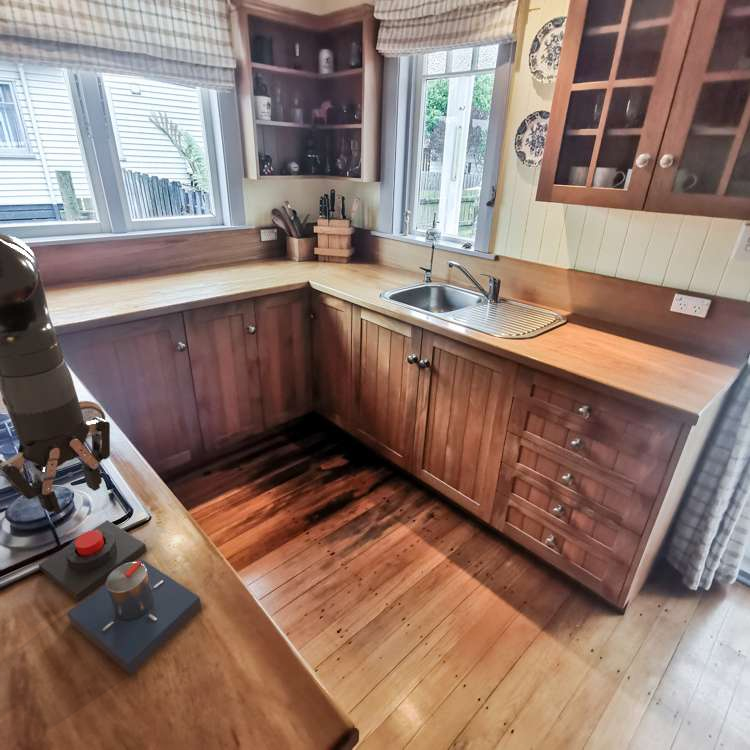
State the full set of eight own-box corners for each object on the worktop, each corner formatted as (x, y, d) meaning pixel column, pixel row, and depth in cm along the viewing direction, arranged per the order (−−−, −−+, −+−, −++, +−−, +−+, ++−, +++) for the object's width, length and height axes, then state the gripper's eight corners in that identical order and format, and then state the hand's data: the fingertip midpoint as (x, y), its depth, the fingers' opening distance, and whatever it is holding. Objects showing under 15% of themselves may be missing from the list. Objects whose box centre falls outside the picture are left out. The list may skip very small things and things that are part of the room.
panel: (72, 627, 64) (66, 612, 62) (144, 571, 72) (140, 556, 71) (132, 678, 58) (127, 662, 57) (202, 611, 67) (199, 596, 65)
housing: (42, 574, 71) (34, 555, 69) (110, 529, 80) (105, 511, 78) (80, 605, 67) (73, 586, 65) (147, 553, 75) (143, 535, 74)
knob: (135, 625, 61) (126, 595, 58) (106, 614, 62) (96, 584, 60) (161, 595, 65) (154, 565, 63) (133, 585, 66) (125, 556, 64)
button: (72, 550, 71) (69, 541, 70) (95, 535, 74) (92, 526, 73) (86, 560, 69) (83, 551, 69) (109, 544, 72) (106, 536, 71)
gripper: (-9, 431, 52) (35, 541, 60) (112, 382, 64) (136, 480, 71) (-40, 412, 56) (6, 518, 63) (80, 369, 67) (106, 464, 74)
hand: (74, 498), depth 67 cm, fingers open, 5 cm apart
